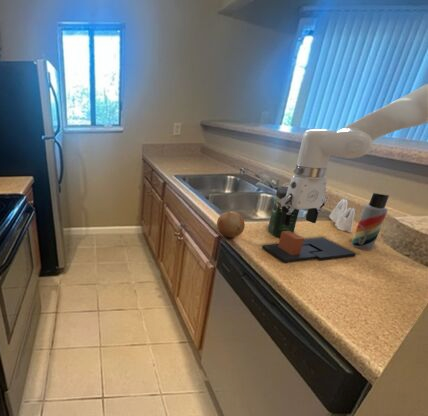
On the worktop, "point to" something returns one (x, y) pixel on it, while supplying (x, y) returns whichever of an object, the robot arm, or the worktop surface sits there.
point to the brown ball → (230, 224)
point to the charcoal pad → (327, 249)
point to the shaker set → (343, 216)
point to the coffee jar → (275, 219)
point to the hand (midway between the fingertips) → (297, 223)
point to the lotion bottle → (370, 222)
